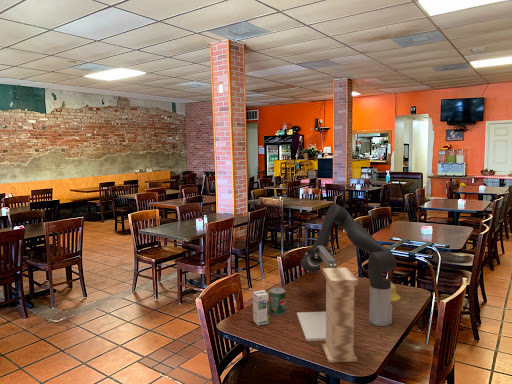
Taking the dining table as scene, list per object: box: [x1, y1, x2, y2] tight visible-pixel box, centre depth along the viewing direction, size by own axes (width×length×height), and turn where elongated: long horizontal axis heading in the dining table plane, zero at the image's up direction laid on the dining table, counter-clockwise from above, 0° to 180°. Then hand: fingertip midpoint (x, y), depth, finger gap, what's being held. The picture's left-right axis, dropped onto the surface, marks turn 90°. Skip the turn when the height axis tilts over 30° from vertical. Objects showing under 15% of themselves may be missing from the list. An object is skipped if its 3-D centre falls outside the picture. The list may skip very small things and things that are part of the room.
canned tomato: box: [269, 287, 287, 316], centre depth 187 cm, size 8×8×11 cm
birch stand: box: [321, 267, 359, 363], centre depth 147 cm, size 11×15×32 cm
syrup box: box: [252, 289, 270, 326], centre depth 175 cm, size 6×6×14 cm
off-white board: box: [296, 311, 326, 342], centre depth 171 cm, size 18×26×1 cm
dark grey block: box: [317, 246, 337, 268], centre depth 167 cm, size 3×26×3 cm, turn 3°
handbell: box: [386, 251, 401, 301], centre depth 202 cm, size 12×12×25 cm
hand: (322, 249), depth 174 cm, fingers closed on dark grey block, 3 cm apart
